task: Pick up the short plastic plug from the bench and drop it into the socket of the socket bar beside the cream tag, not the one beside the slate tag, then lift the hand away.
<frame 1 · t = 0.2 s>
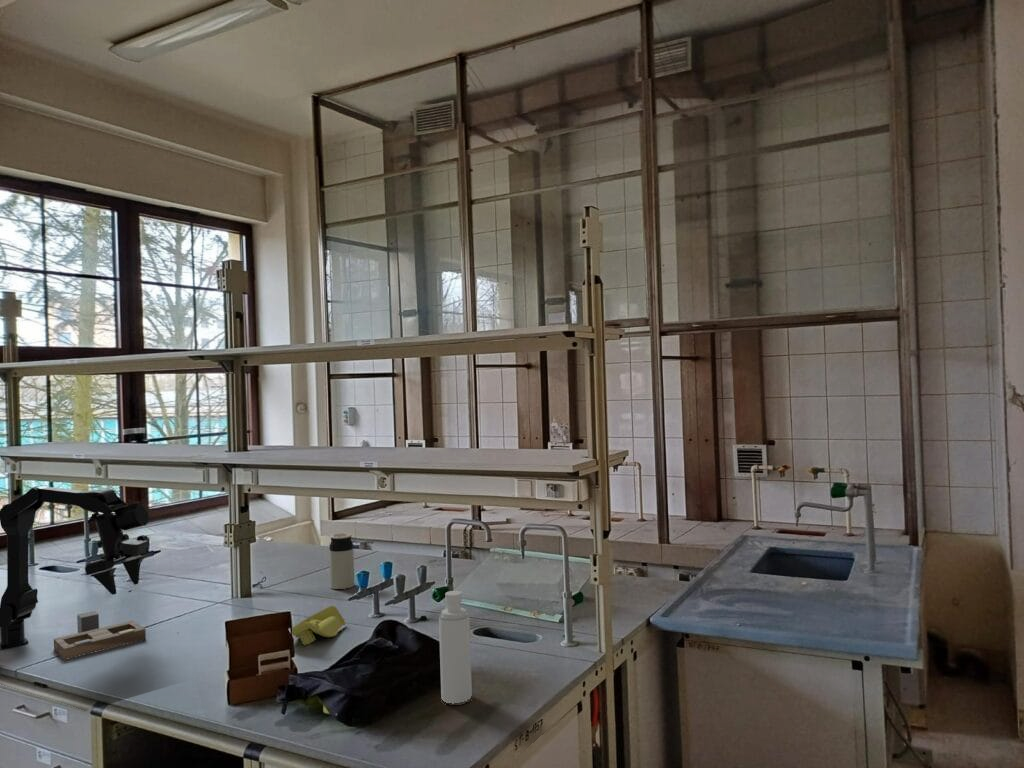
hand: (125, 589, 203), 15 cm above the counter, tool pointing down, fingers open, 9 cm apart
white bottle: (456, 700, 161), on the counter
socket bar: (100, 644, 203), on the counter
plug: (88, 635, 212), on the counter
plastic component: (314, 638, 204), on the counter
travel mug: (342, 587, 254), on the counter
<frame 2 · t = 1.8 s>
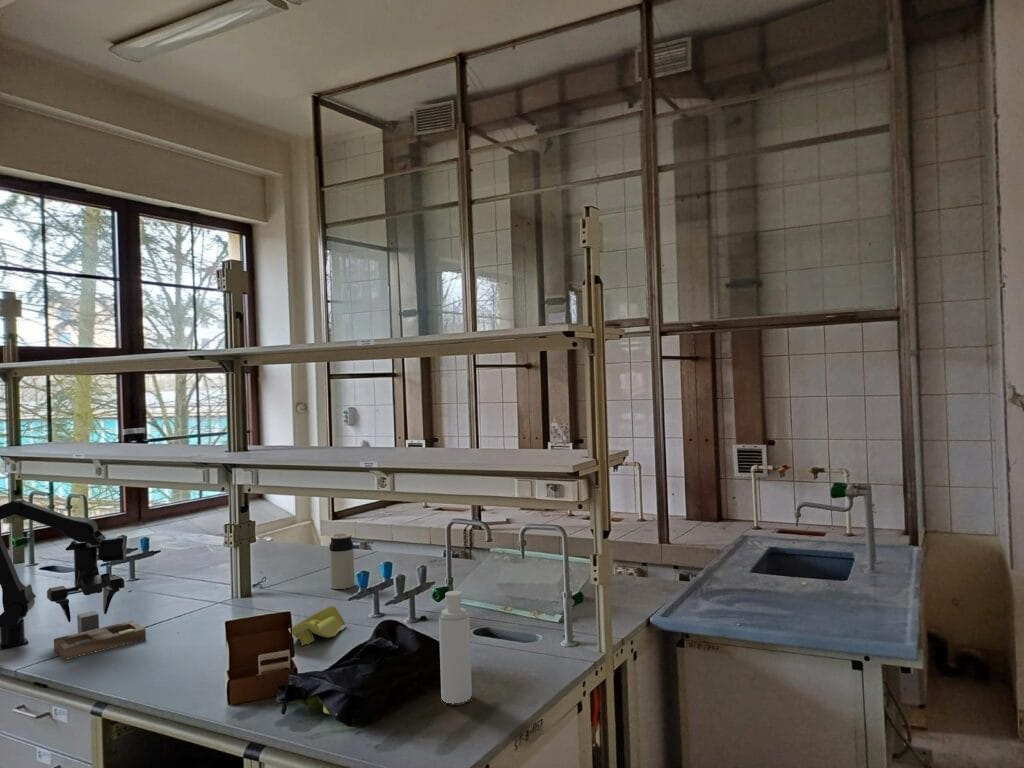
hand: (87, 617, 211), 5 cm above the counter, tool pointing down, fingers open, 9 cm apart
nothing on the counter moved.
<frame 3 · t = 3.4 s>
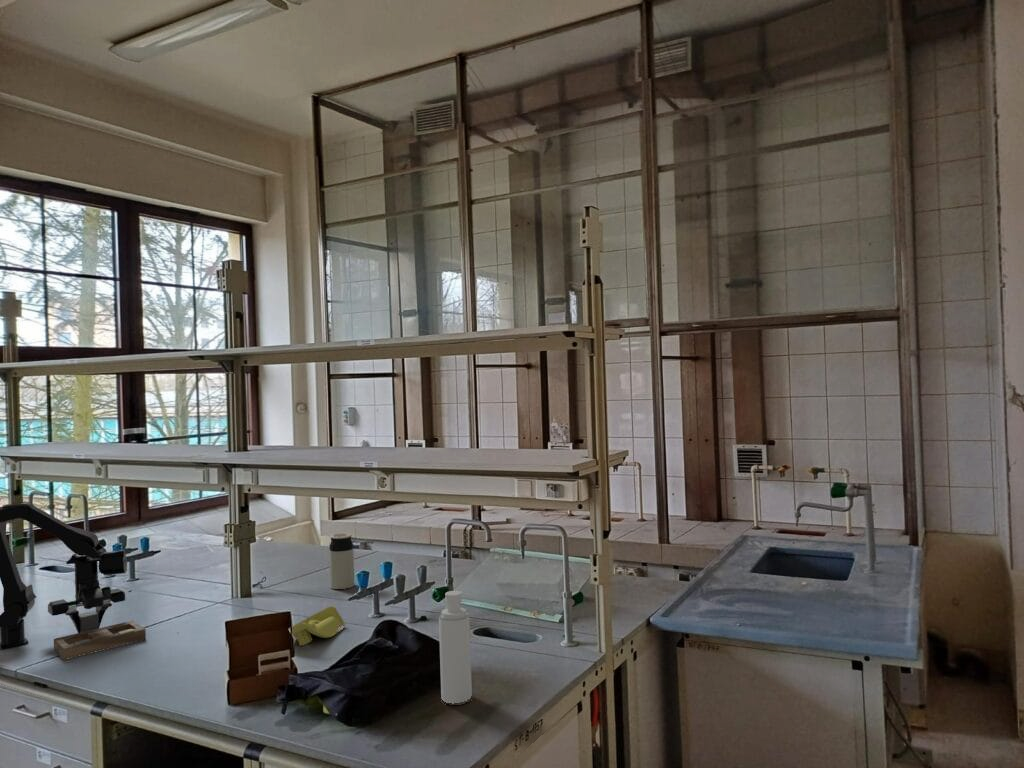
hand: (88, 631, 212), 1 cm above the counter, tool pointing down, fingers closed on plug, 4 cm apart
plug: (88, 634, 212), on the counter, touching gripper
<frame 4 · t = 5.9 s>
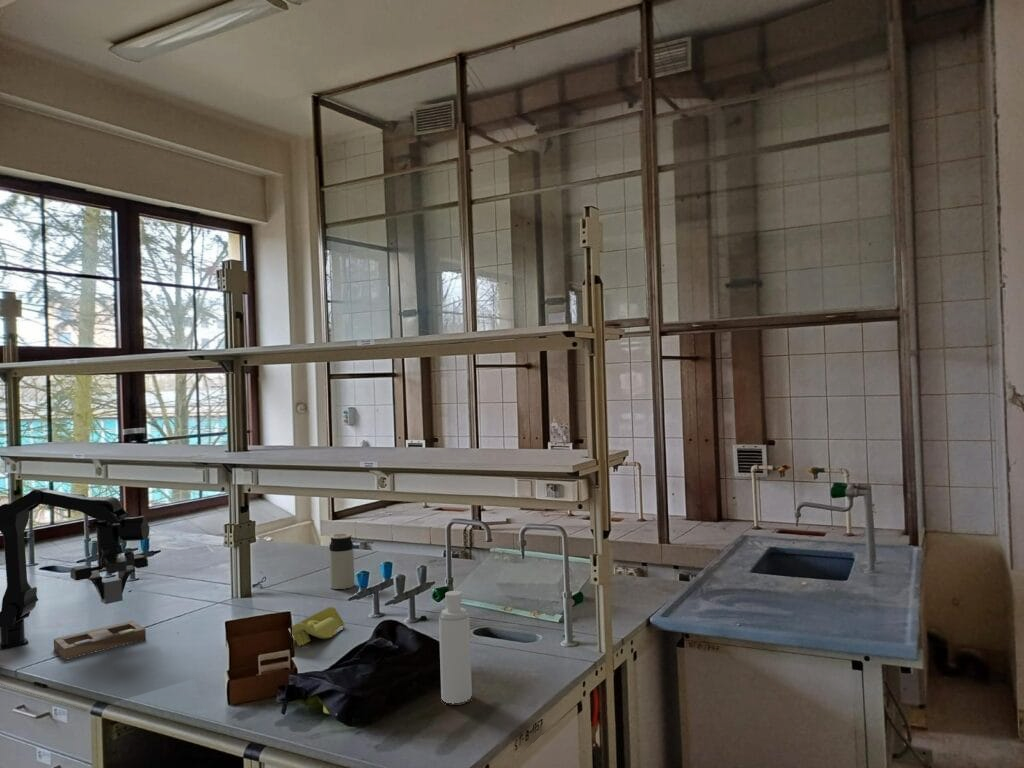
hand: (111, 597, 208), 11 cm above the counter, tool pointing down, fingers closed on plug, 4 cm apart
plug: (111, 600, 208), point 10 cm above the counter, touching gripper
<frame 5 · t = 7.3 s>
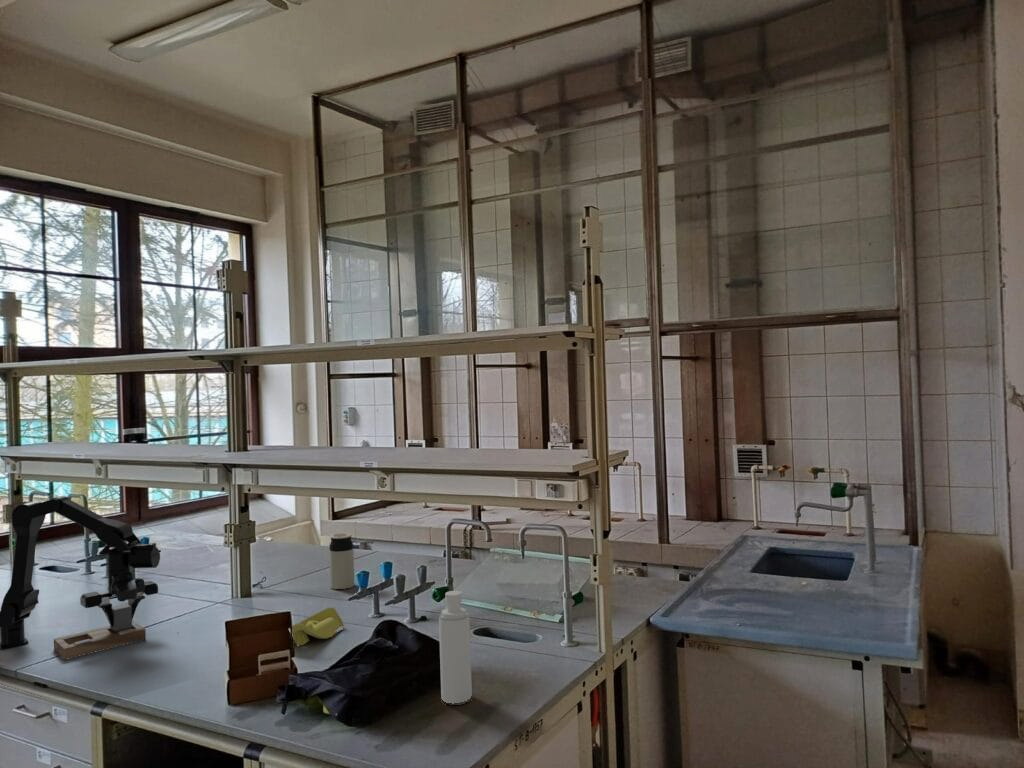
hand: (121, 624, 207), 4 cm above the counter, tool pointing down, fingers closed on plug, 4 cm apart
plug: (121, 627, 207), point 3 cm above the counter, touching gripper
when the fingers open (4 cm above the counter, at t = 8.5 s): plug drops 3 cm, resting in socket bar.
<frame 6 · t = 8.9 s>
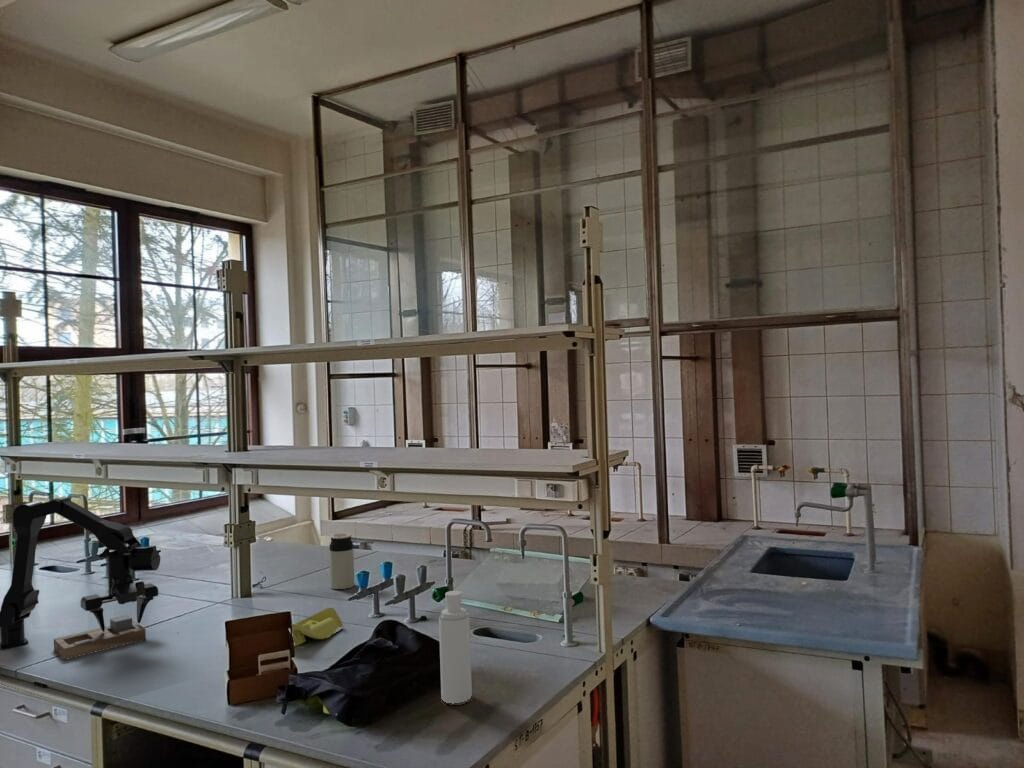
hand: (121, 627, 207), 4 cm above the counter, tool pointing down, fingers open, 9 cm apart
plug: (121, 639, 207), resting in socket bar
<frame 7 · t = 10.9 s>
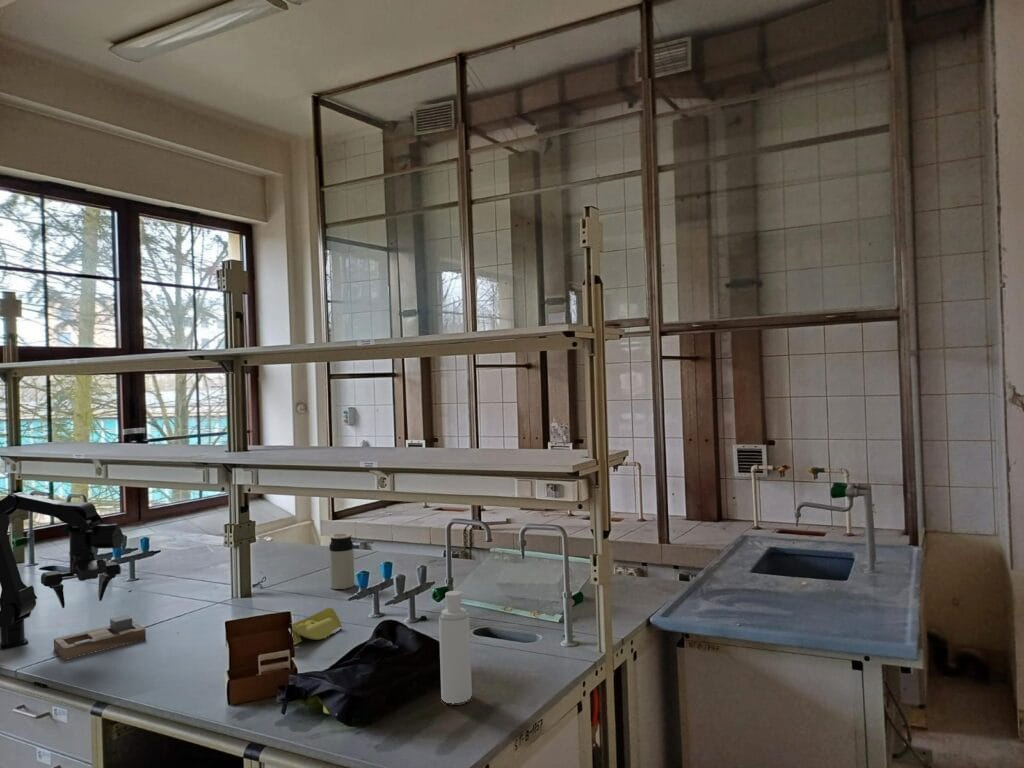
hand: (82, 604, 206), 11 cm above the counter, tool pointing down, fingers open, 9 cm apart
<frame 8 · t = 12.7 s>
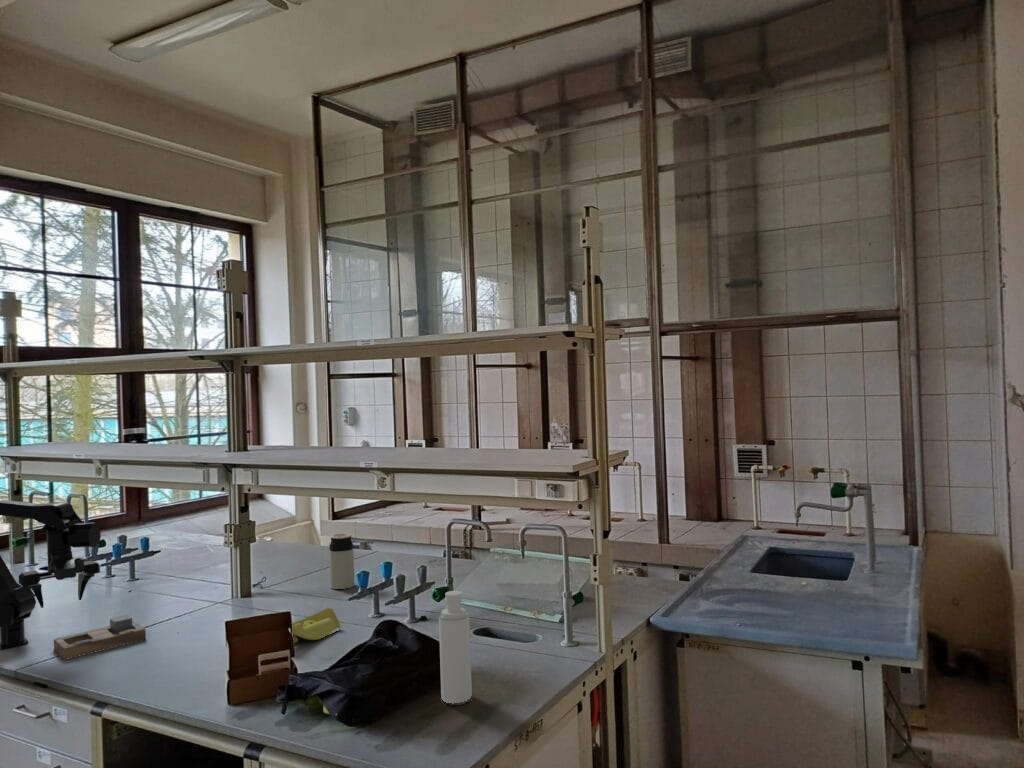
hand: (61, 603, 205), 11 cm above the counter, tool pointing down, fingers open, 9 cm apart
at the end: plug 0.0 cm from the target spot on the socket bar, point 0.0 cm above the socket bar's base; plug tilted 0°; the gripper is holding nothing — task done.
